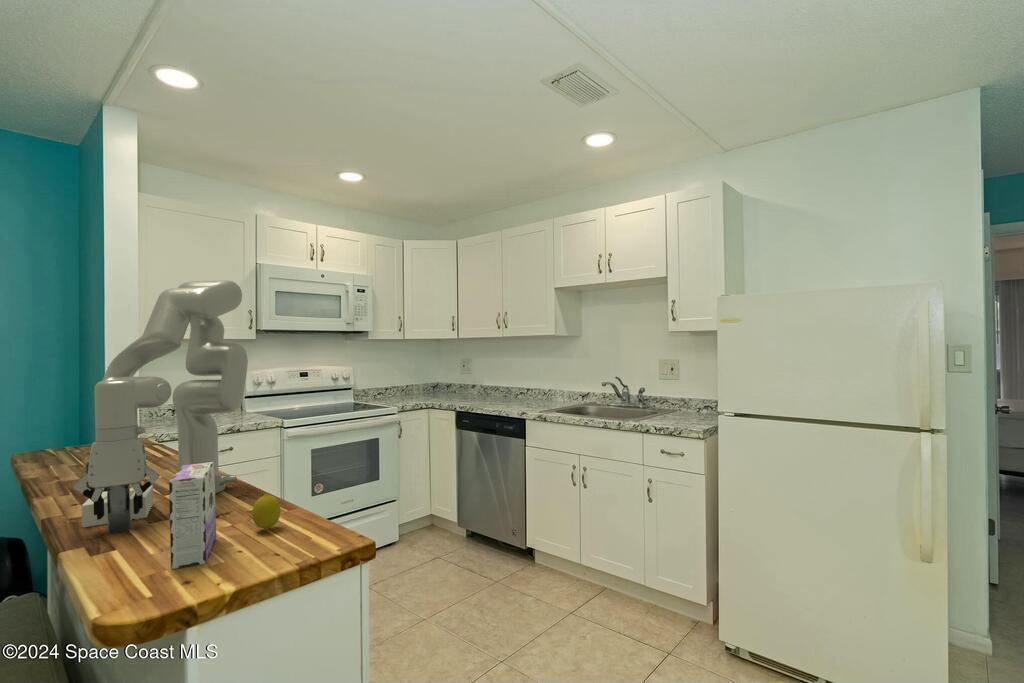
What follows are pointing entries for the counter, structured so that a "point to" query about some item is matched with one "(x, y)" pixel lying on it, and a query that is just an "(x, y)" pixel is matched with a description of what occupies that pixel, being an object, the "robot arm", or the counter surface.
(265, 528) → the lemon
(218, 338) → the robot arm
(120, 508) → the peg
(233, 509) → the counter surface
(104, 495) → the socket block
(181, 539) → the candy box
